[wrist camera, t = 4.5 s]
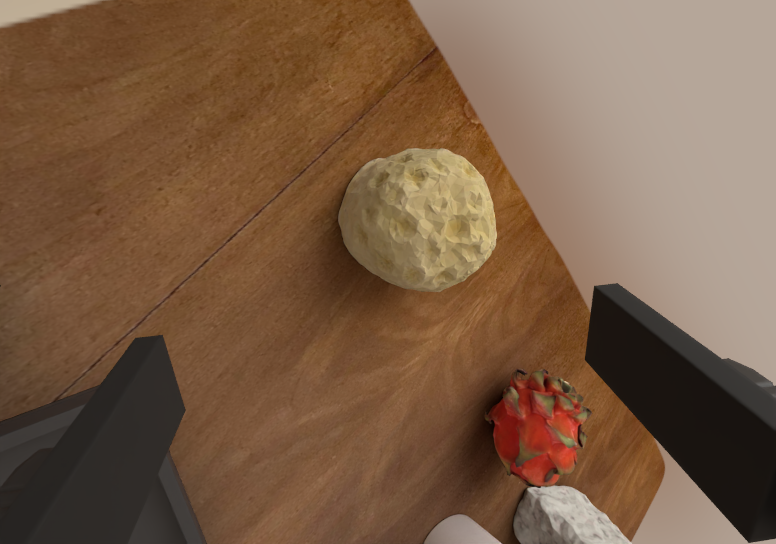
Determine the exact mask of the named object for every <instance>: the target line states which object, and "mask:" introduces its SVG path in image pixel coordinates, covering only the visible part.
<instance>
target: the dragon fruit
mask: <svg viewBox="0 0 776 544" xmlns="http://www.w3.org/2000/svg"><path fill="white" fill-rule="evenodd" d="M519 372H520V373H521V374H523V375H524V376H525V374H527V372H526V371H525V370H524V369H516V370H515V372H514V373H513V374H512V376H511V381H510V385H511V386H508V387H506V388H505V389H504V391H503V399H502V400H501V401H500V403H498V404H497V405H495V406H493V407H492V409H491V411H490V412H489V413H488V415H486V414H487V411H486V412H485V420H486V421H488V422H489V423H492V420H493V421H494V423H495V427H494V433H493V439H494V442H495V448H496V451H497V453H498V455H499V457H500V459H501V460H502V463H503V464H504V467H505V468H506V469H507V475H509V476H510V475H511V474H513V475H514V476H516V477H518V478H519V479H520V480H521V481H522V482H523V483H524V484H526V485H528V486H532V487H537V488H541V486H544V487H551V486H554V485H555V484H556V483H557V481H558V479H559V475H566V474H571V473H572V472H573V470H574V465H577V453H576V450H577V449H584V447H585V442H586V438H587V435H586V434H585V433H584V432H582V430H581V424H582V423H583V422H584V421H586V420H587V419H588V418H589V417H590V416H591V414H592V412H591V411H590V409H588V408H587V407H584V406H582V402H583V397H582V396H580V395H579V394H577V393H576V390H575V388H574V387H572V386H571V385H569V383H567V382H566V381H563V378H559V377H557V376H554V377H553V376H551V375H548V371H546V370H545V369H541V370H539V371H535V372H533V373H532V374H531V376H530V378H529V379H528V380H522V379H521V378H520V377H519Z"/></svg>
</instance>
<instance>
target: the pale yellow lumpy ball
mask: <svg viewBox="0 0 776 544" xmlns="http://www.w3.org/2000/svg"><path fill="white" fill-rule="evenodd" d="M338 222H339V225H340V228H341V232H342V237H343V242H344V244H345V246H346V247H347V249H348V251H349V252H350V254H351V255H352V256H353V257H354V258H355V259H356V260H357V261H358V262H359V263H360V264H361V265H363V266H364V267H365V268H366V269H367V270H369V271H370V272H371V273H373V274H375V275H377V276H379V277H380V278H381V279H384V280H385V281H387V282H389V283H391V284H394V285H397V286H399V287H402V288H404V289H414V290H417V291H421V292H424V291H428V292H441V291H442V290H444V289H445V288H448V287H451V286H453V285H454V284H458V283H460V282H462V281H465V279H466V278H467V277H468V276H469V275H471V274H473V273H474V272H475V271H476V270H478V269H479V268H480V267H481V266H482V264H483V263H484V262H485V261H486V260H487V259H488V258H489V257H490V255H491V252H492V251H493V250H494V248H495V245H496V238H497V233H496V220H495V213H494V211H493V202H492V199H491V197H490V192H489V190H488V187H487V184H486V183H485V180H484V177H483V176H482V175H480V174H479V172H478V171H477V170H476V168H475V167H474V166H473V165H471V164H470V163H469V162H468V161H467V160H466V159H465V158H464V157H462V156H460V155H456V154H453V153H452V152H451V151H449V150H446V149H442V148H441V149H417V148H414V149H406V150H405V151H403V152H401V153H398V154H396V155H392V156H389V157H387V158H386V159H383V158H378V159H375V160H372V161H370V162H368V163H367V164H366V165H364V166H363V167H362V168H361V169H360V170H359V171H358V173H357V174H356V175H355V176H354V177H353V179H352V180H351V182H350V183H349V185H348V188H347V190H346V193H345V196H344V199H343V202H342V205H341V208H340V211H339V215H338Z"/></svg>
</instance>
